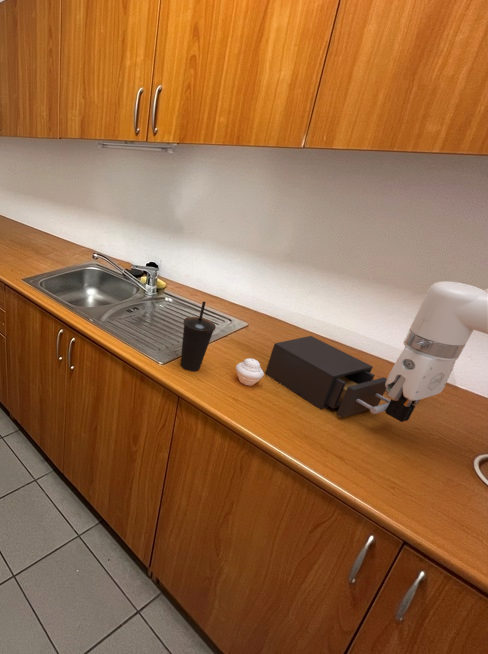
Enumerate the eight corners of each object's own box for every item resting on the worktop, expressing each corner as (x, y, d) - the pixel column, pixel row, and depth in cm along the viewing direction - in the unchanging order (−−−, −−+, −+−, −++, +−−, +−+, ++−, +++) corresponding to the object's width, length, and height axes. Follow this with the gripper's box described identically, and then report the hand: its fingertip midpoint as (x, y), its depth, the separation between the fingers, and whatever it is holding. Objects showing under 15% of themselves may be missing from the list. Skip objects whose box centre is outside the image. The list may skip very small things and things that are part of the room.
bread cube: (358, 400, 93) (364, 387, 92) (343, 404, 92) (348, 391, 90) (335, 387, 98) (340, 374, 96) (320, 391, 96) (325, 378, 95)
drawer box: (358, 399, 96) (373, 366, 93) (320, 409, 93) (333, 376, 90) (300, 365, 109) (310, 335, 106) (264, 373, 106) (274, 343, 102)
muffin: (227, 376, 105) (233, 354, 103) (247, 373, 106) (253, 351, 104) (245, 391, 100) (252, 368, 97) (266, 387, 101) (273, 364, 98)
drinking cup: (175, 371, 108) (189, 306, 100) (174, 356, 114) (186, 294, 106) (207, 377, 105) (223, 310, 97) (203, 361, 112) (218, 297, 104)
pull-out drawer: (398, 419, 89) (413, 391, 86) (362, 430, 86) (375, 402, 83) (318, 373, 104) (328, 348, 101) (285, 381, 101) (294, 356, 98)
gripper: (432, 361, 72) (392, 437, 79) (483, 347, 76) (441, 421, 83) (383, 340, 79) (351, 412, 86) (433, 328, 82) (398, 398, 90)
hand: (396, 416), depth 84 cm, fingers closed
